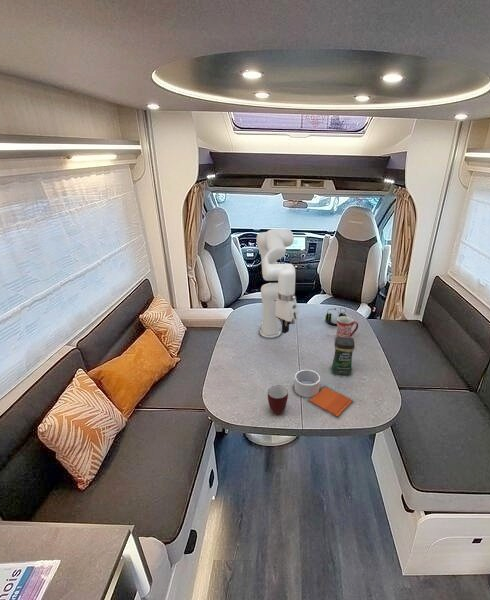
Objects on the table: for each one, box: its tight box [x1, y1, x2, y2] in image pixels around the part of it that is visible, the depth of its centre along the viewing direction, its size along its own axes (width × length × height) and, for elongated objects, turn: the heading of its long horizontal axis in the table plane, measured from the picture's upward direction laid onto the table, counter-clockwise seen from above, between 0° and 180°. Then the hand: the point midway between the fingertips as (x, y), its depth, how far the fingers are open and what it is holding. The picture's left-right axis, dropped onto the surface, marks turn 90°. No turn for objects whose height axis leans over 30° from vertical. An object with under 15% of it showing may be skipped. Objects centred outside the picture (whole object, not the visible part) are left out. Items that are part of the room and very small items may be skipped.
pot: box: [294, 369, 321, 398], centre depth 140 cm, size 11×11×6 cm
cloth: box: [309, 386, 353, 418], centre depth 135 cm, size 14×12×1 cm
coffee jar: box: [331, 336, 356, 376], centre depth 151 cm, size 10×8×19 cm
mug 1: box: [267, 384, 289, 416], centre depth 127 cm, size 11×8×10 cm
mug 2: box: [336, 315, 359, 338], centre depth 180 cm, size 13×9×14 cm
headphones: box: [324, 307, 348, 328], centre depth 202 cm, size 16×10×20 cm
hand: (285, 331), depth 147 cm, fingers closed
